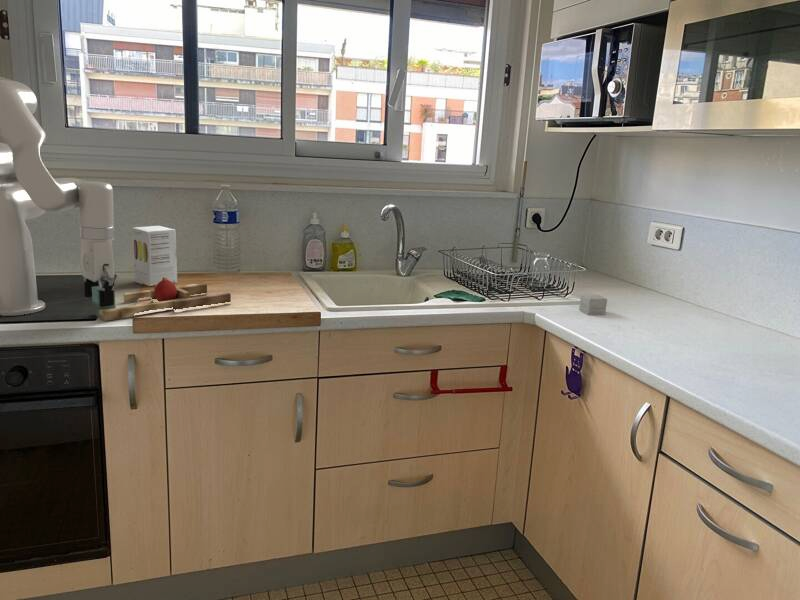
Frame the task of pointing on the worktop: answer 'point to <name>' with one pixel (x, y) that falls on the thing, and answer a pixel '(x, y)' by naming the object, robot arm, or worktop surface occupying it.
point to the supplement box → (154, 254)
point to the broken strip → (141, 295)
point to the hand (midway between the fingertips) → (99, 301)
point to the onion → (165, 290)
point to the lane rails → (199, 300)
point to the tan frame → (125, 312)
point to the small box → (593, 304)
